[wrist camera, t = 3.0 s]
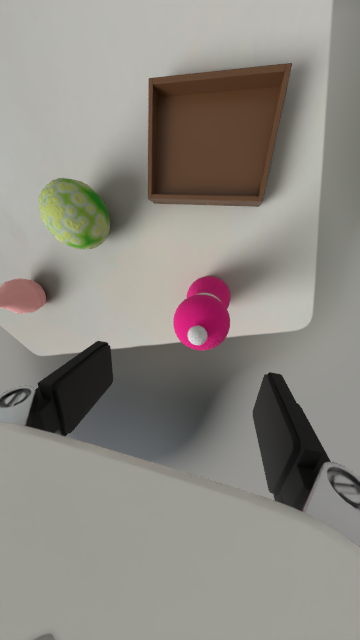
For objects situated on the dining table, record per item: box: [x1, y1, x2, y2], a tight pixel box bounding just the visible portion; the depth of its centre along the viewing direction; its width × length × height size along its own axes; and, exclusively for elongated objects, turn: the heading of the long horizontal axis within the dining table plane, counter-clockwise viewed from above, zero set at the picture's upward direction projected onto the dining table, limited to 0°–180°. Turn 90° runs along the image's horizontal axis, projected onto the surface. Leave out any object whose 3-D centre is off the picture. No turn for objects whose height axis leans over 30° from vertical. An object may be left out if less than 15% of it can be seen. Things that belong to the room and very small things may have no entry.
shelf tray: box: [148, 63, 292, 206], centre depth 24 cm, size 17×13×3 cm
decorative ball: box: [39, 178, 110, 249], centre depth 28 cm, size 10×10×10 cm
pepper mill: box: [174, 276, 230, 350], centre depth 24 cm, size 7×7×20 cm
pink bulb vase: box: [0, 279, 46, 313], centre depth 36 cm, size 8×8×12 cm
